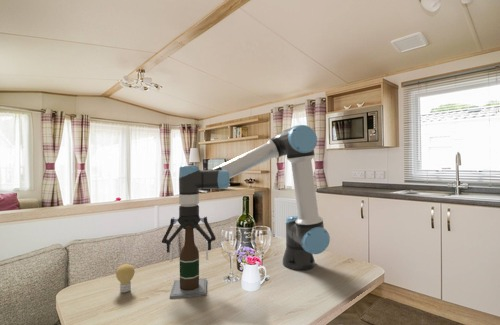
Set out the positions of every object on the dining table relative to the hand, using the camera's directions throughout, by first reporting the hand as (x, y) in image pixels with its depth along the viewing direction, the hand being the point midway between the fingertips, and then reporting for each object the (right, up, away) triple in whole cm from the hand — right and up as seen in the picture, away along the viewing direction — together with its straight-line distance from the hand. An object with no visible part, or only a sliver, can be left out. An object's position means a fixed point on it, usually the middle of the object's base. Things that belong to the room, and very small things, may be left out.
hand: (189, 259), depth 102 cm
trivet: (0, -11, 0) cm, 11 cm away
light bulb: (-24, -11, -2) cm, 27 cm away
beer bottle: (0, -10, 0) cm, 10 cm away
